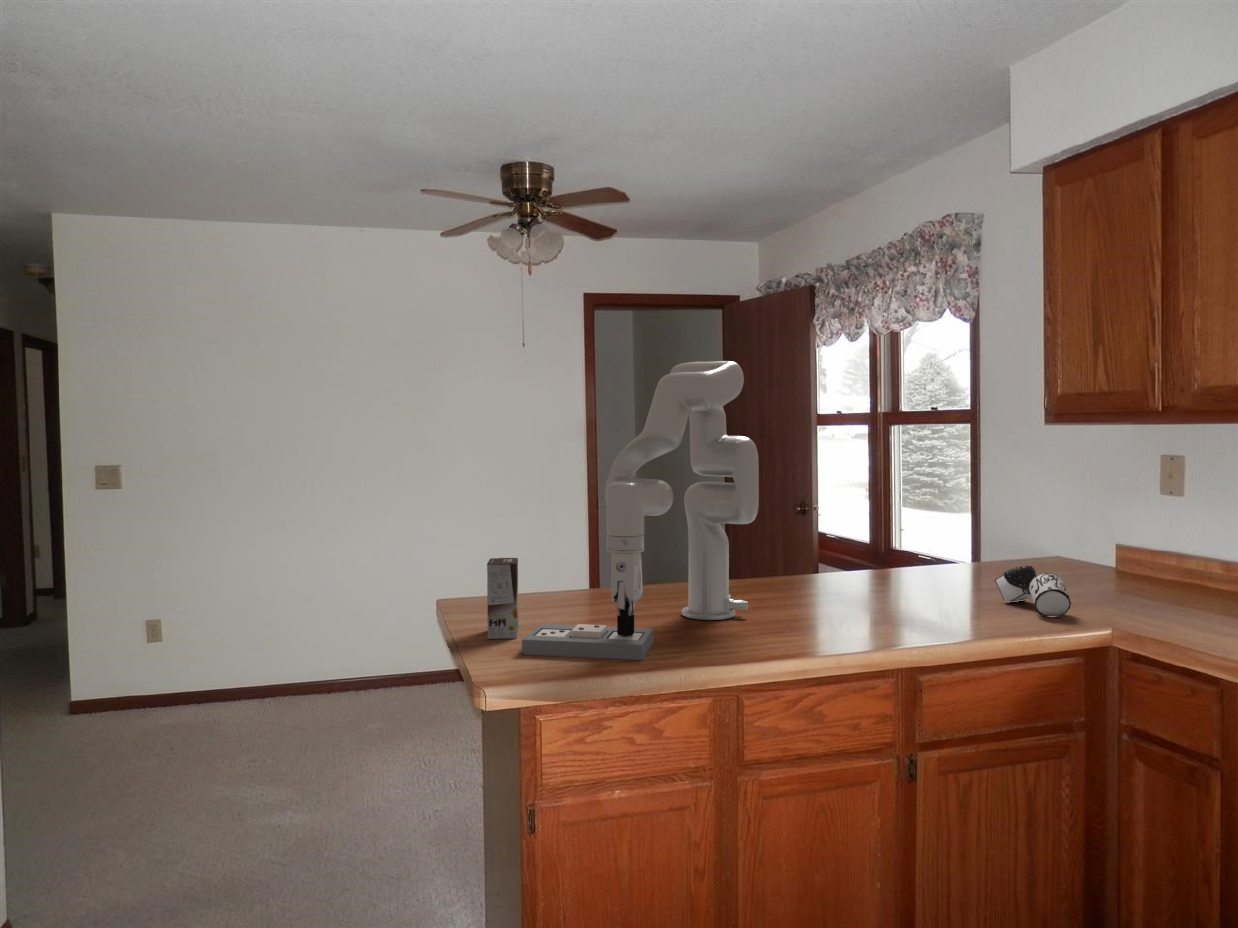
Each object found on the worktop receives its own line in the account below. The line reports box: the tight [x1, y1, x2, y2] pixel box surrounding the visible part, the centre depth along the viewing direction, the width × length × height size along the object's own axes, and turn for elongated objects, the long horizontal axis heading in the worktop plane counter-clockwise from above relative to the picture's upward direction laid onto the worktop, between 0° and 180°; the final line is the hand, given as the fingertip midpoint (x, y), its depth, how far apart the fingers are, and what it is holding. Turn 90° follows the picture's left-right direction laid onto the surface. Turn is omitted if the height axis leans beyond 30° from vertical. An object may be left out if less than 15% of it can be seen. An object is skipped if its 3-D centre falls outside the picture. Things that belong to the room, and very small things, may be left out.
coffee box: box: [486, 557, 519, 640], centre depth 195 cm, size 9×6×16 cm
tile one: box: [608, 632, 643, 640], centre depth 181 cm, size 6×6×2 cm
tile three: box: [535, 629, 571, 637], centre depth 184 cm, size 6×6×2 cm
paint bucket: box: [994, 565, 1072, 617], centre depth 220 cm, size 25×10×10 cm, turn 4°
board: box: [521, 623, 654, 661], centre depth 182 cm, size 24×14×3 cm, turn 79°
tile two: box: [571, 623, 608, 638], centre depth 182 cm, size 6×6×2 cm
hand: (625, 634), depth 181 cm, fingers closed
